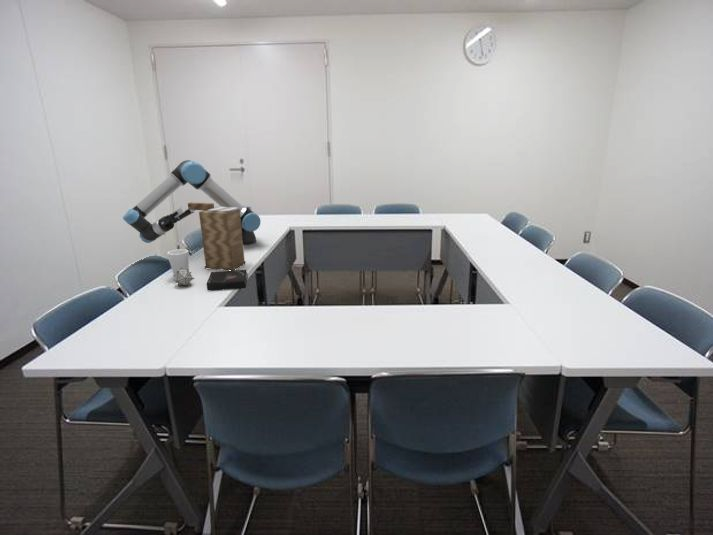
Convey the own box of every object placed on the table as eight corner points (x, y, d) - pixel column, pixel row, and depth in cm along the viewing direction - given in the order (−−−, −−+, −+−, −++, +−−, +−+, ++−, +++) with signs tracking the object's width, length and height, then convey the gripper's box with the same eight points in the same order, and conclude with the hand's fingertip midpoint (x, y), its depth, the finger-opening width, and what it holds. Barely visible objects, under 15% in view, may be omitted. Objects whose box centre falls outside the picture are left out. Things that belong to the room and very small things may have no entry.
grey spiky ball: (183, 291, 190) (177, 272, 192) (199, 285, 190) (193, 266, 192) (172, 289, 181) (167, 269, 183) (189, 282, 181) (184, 262, 183)
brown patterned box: (204, 268, 211) (197, 212, 201) (218, 261, 223) (212, 207, 213) (233, 270, 207) (227, 213, 198) (245, 263, 219) (240, 209, 209)
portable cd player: (246, 288, 185) (245, 280, 183) (207, 291, 181) (206, 283, 180) (247, 277, 200) (247, 269, 199) (212, 279, 197) (211, 271, 195)
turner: (184, 210, 204) (183, 204, 203) (196, 207, 214) (195, 201, 212) (228, 213, 199) (228, 206, 198) (238, 209, 208) (238, 203, 207)
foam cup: (184, 281, 193) (180, 255, 189) (167, 279, 195) (163, 254, 191) (195, 274, 202) (192, 249, 198) (179, 273, 204) (175, 248, 199)
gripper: (182, 226, 228) (208, 209, 220) (151, 237, 205) (179, 218, 197) (174, 214, 226) (201, 197, 219) (142, 224, 203) (171, 204, 196)
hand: (191, 207), depth 208 cm, fingers open, 13 cm apart
